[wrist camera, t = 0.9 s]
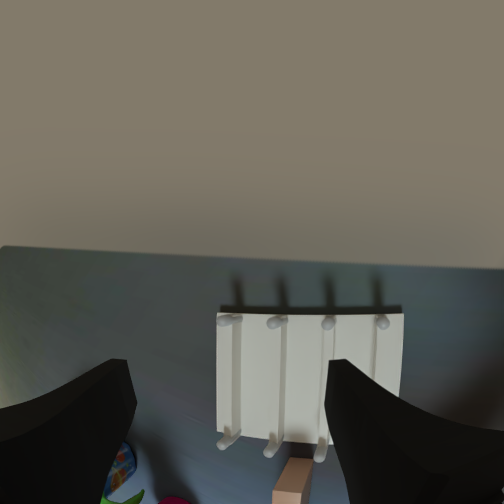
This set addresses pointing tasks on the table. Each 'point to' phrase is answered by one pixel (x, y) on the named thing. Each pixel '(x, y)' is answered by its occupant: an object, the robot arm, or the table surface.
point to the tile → (294, 482)
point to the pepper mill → (173, 501)
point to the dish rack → (295, 371)
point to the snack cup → (121, 476)
